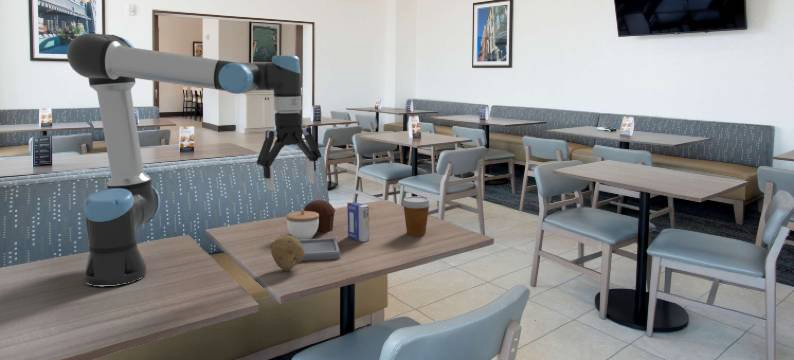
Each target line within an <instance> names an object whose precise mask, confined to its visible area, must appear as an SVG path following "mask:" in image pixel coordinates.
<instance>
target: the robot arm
mask: <svg viewBox="0 0 794 360" xmlns="http://www.w3.org/2000/svg"><path fill="white" fill-rule="evenodd" d="M66 57H67V61H68V63H69V65H70V67H71V68H72V70H74V71H75V73H77V74H78V75H80V76H81V77H84V78H87V79H88V83H89V87H90V88H91V89H93V90H94V91H95V92H96V94H97V100H98V105H99V111H100V118H101V123H102V129H103V135H104V140H105V147H106V152H107V159H108V164H109V170H110V175H111V177H110V179H109V180H108V181H107V183H106V189H102V190H99V191H96V192H93V193H91V194H89V195H88V196H87V197H86V198H85V200H84V210H83V211H84V213H83V214H84V216H85V217H84V218H85V224H86V225H85V226H86V233H87V241H88V250H89V254H88V258H87V262H86V265H85V271H84V282H85V281H86V282H87V283H89V284H92V285H117V284H123V283H128V282H132V281H134V280H137V279H139V278H141V277H143V276H144V275H145V274H146V273H148V272H147V265H146V262H145V260H144V258H143V257H142V254H141V251H140V250H139V248H138V239H137V229H139V228H140V227H142V226H143V225H145V224H147V223H149V222H150V221H151V220H152V219H153V218H154V217H155V216H156V215H157V213H159V210H160V207H161V197H160V193H159V192H158V190H157V188H155V187H154V186H153V184H152V180H151V179H152V178H151V176H149V175H148V174H146V173H145V169H144V164H143V157H142V151H141V144H140V140H139V133H138V127H137V121H136V120H137V119H136V114H135V108H134V101H133V96H132V88H133V87H134V86H135V85H136V79H138V80H139V79H140V80H146V81H151V82H152V81H153V82H160V83H161V82H162V83H167V84H175V85H181V86H182V85H184V86H190V87H195V88H203V89H210V90H217V91H225V92H228V93H230V94H234V95H239V94H241V95H242V94H243V93H247V92H251V91H273V110H274V111H275V113H274V125H275V130H274V131H273V130H269V129H268V130H266V131H265V136H264V137H265V138H264V141H263V143H262V146H261V149H260V152H259V155H258V157H257V159H256V165H259V166H262V168H263V178H264V179H265V180H266V181H265V182H266V190H269V191H275V175H274V174H275V173H274V167H273V166H272V165H273V163H274V161H275V160H276V158H277V157H278V155H279V153H281V150H282V149H283V148H284V147H285V146H291V145H293V146H294V145H295V146H297V147H299V150H301V151H302V153H303V154H304V155H305V156H306V158H307V160H306V161H305V162H306V165H305V166H306V169H305V170H306V182H307V184H308V183H309V184H315V172H316V170H317V165H316V162H317V161H318V160H319V159H320V158H322V154H321V151H320V149H319V147H318V145H317V142H316V141H315V138H314V135H313V131H312V130H313V129H312V127H309V126H303V127H302V125H303V113H302V112H301V111H302V81H301V79H302V78H301V77H302V76H301V74H302V72H301V63H300V62H301V61H300V58H299V57H298V56H297V55H293V54H292V55H284V54H283V55H273V56H272V58H271V62H234V61H228V60H220V59H214V58H208V57H207V58H206V57H201V56H199V57H198V56H192V55H186V54H179V53H173V52H172V53H171V52H164V51H159V50H152V49H145V48H137V47H135V46H134V45H133V44H132V43H130V41H129V40H127V39H125V38H124V37H121V36H117V35H115V34H108V33H107V34H104V33H95V32H94V33H93V32H85V33H82V34H79V35H78V36H75V37H74V38H73V39H72V40H71V42H70V43H69V44H68V47H67V51H66ZM302 136H304V139H305V141H306V143H307V144H306V143H305V141H304V139H303V138H302ZM275 138H276V140H275ZM274 140H275V141H274ZM273 143H274V144H273ZM146 275H147V274H146ZM143 278H144V277H143Z"/></svg>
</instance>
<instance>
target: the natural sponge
mask: <svg viewBox="0 0 794 360" xmlns="http://www.w3.org/2000/svg"><path fill="white" fill-rule="evenodd" d="M270 251H271V255H272V259H273V261H274V262H275V264H276V265H277V266H278V267H279V268H280V269H281V270H283V271H286V272H289V271H290V270H292V269H293V268H294V267H295V266H296V265H298V264H300V263H301V262H303V261H302V260H303V258H304V255H305V252H304V248H303V246H302V244H301V243H300V241H299V240H298V239H296V238H295V237H293V236H292V235H283V236H280V237H278V238H276V240H275V241H274V242H273V243H272V246H271V248H270Z"/></svg>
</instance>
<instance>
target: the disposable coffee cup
mask: <svg viewBox="0 0 794 360" xmlns="http://www.w3.org/2000/svg"><path fill="white" fill-rule="evenodd" d="M401 204H402V207H403V212H404V220H405V228H406V234H407V235H408V236H412V237H419V236H424V235H426V230H427V223H428V216H429V208H430V205H431V202H430V199H429V198H428V197H426V196H419V195H417V196H416V195H414V196H407V197H404V198H403V201H402V202H401Z"/></svg>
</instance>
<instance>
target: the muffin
mask: <svg viewBox="0 0 794 360" xmlns="http://www.w3.org/2000/svg"><path fill="white" fill-rule="evenodd" d="M302 210H304V211H312V212H316V213H318V214H319V225H318V229H317V232H316V233H315V234H318V233H319V234H323V233H327V232H331V230H332V229H333V227H334V218H335V212H336V209H335V207H333V205H332V204H331V203H330V202H328V201H326V200H322V199H315V200H313V201H310V202H308V203H307V204H306V205H305V206H304V208H303V209H302Z"/></svg>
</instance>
